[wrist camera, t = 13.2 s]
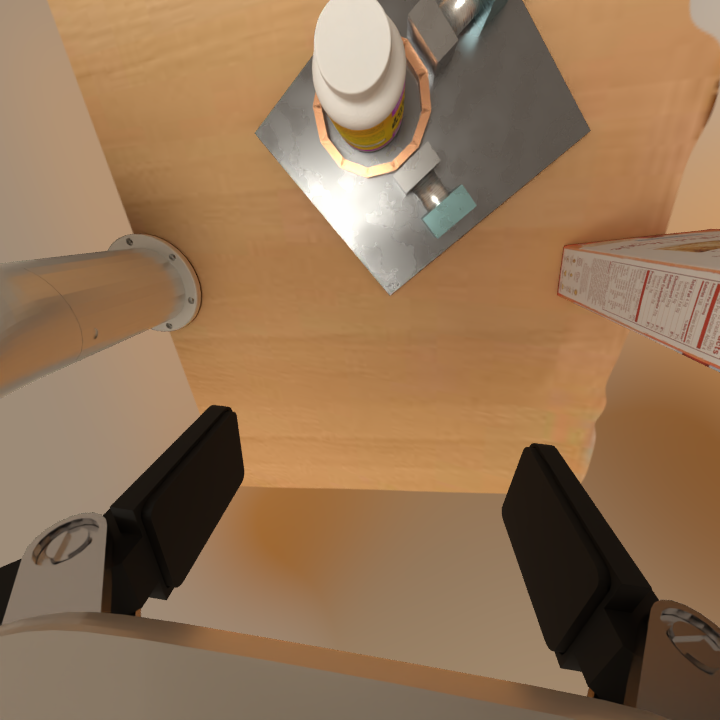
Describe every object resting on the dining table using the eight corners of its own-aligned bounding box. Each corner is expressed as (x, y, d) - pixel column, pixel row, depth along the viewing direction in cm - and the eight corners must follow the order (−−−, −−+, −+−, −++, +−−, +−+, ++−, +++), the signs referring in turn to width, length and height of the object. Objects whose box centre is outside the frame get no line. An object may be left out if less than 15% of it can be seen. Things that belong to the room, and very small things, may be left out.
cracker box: (710, 224, 31) (1182, 235, 12) (691, 283, 34) (1062, 367, 15) (561, 241, 33) (772, 271, 15) (553, 295, 36) (725, 382, 17)
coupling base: (390, 293, 38) (388, 304, 33) (258, 135, 32) (236, 122, 28) (584, 133, 29) (618, 118, 25) (450, -119, 24) (463, -197, 19)
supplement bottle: (401, 153, 31) (403, 114, 19) (336, 153, 31) (301, 116, 20) (406, 66, 28) (412, -41, 16) (334, 68, 29) (292, -33, 17)
